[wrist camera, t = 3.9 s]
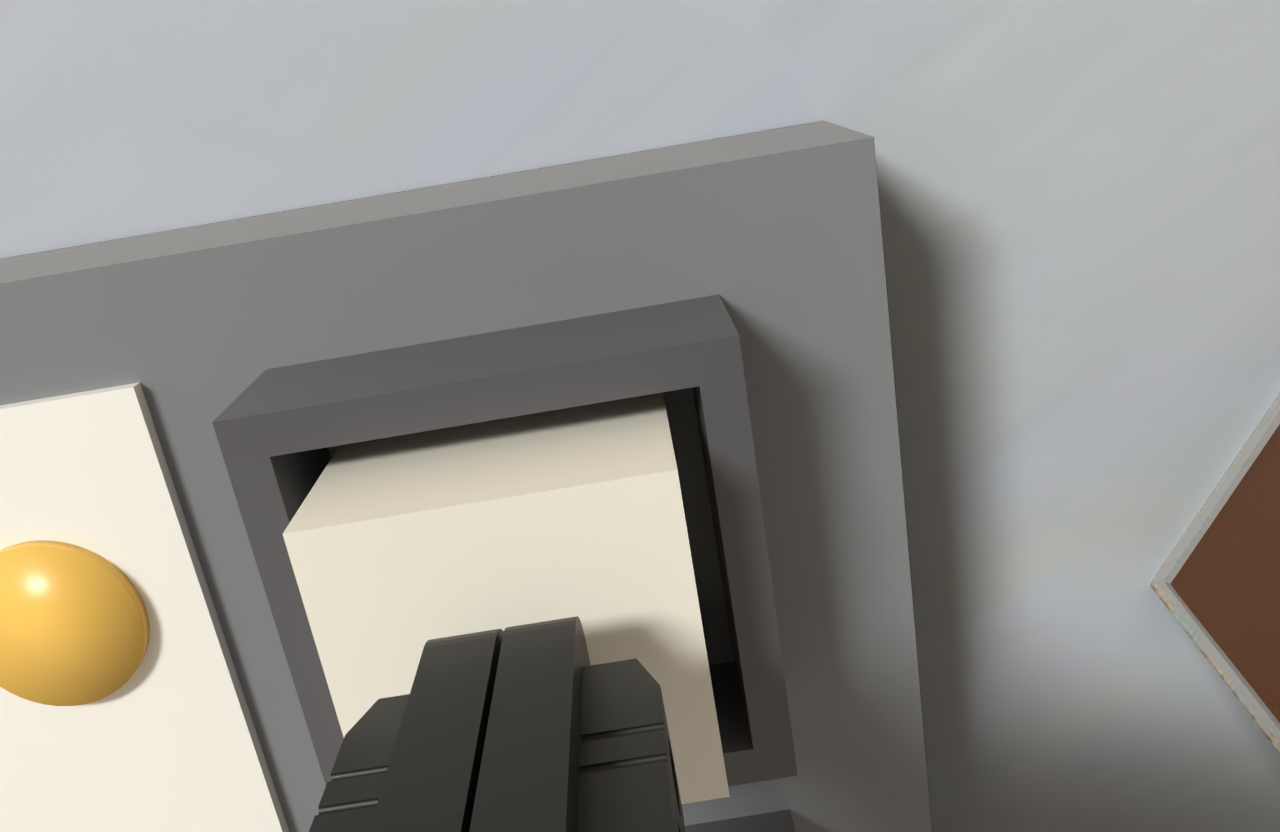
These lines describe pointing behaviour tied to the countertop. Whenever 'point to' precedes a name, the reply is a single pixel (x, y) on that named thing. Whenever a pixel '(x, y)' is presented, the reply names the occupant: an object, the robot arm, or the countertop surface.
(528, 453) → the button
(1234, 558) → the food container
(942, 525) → the countertop surface
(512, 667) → the robot arm
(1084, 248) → the countertop surface
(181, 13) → the countertop surface
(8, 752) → the button board
